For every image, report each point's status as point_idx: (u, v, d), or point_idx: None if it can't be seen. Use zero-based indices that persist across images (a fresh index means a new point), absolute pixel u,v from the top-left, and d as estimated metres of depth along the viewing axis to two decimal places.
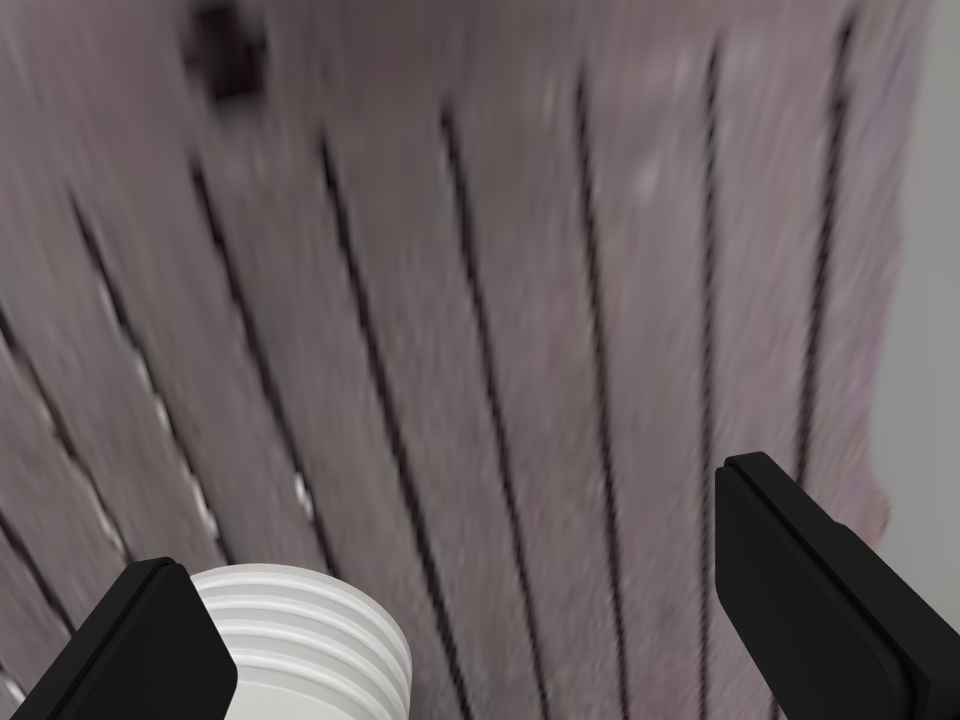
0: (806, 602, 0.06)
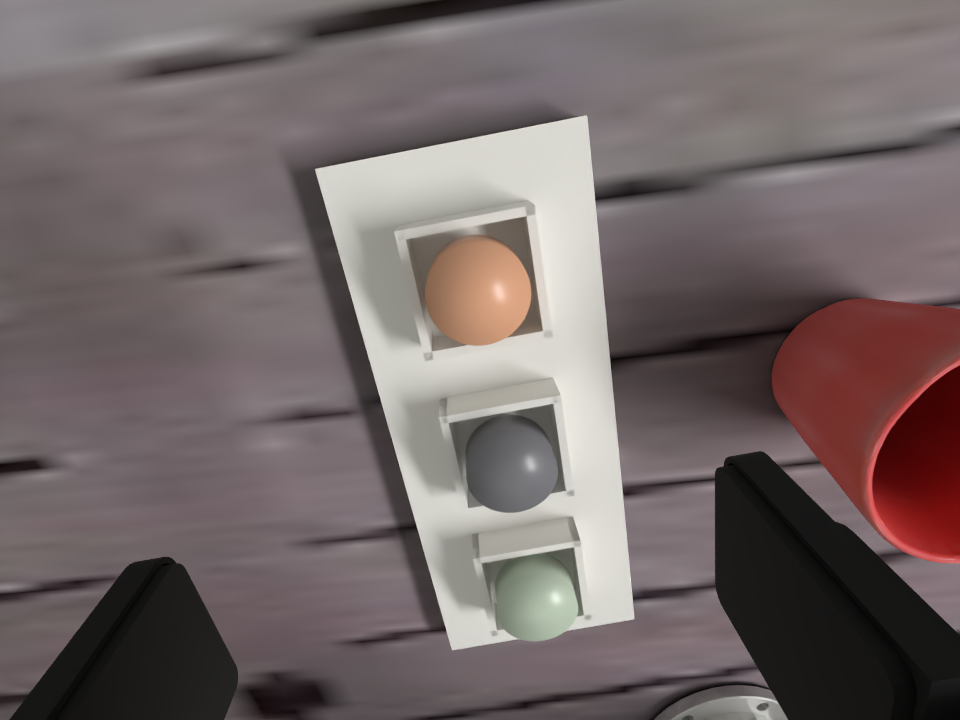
0: (806, 602, 0.06)
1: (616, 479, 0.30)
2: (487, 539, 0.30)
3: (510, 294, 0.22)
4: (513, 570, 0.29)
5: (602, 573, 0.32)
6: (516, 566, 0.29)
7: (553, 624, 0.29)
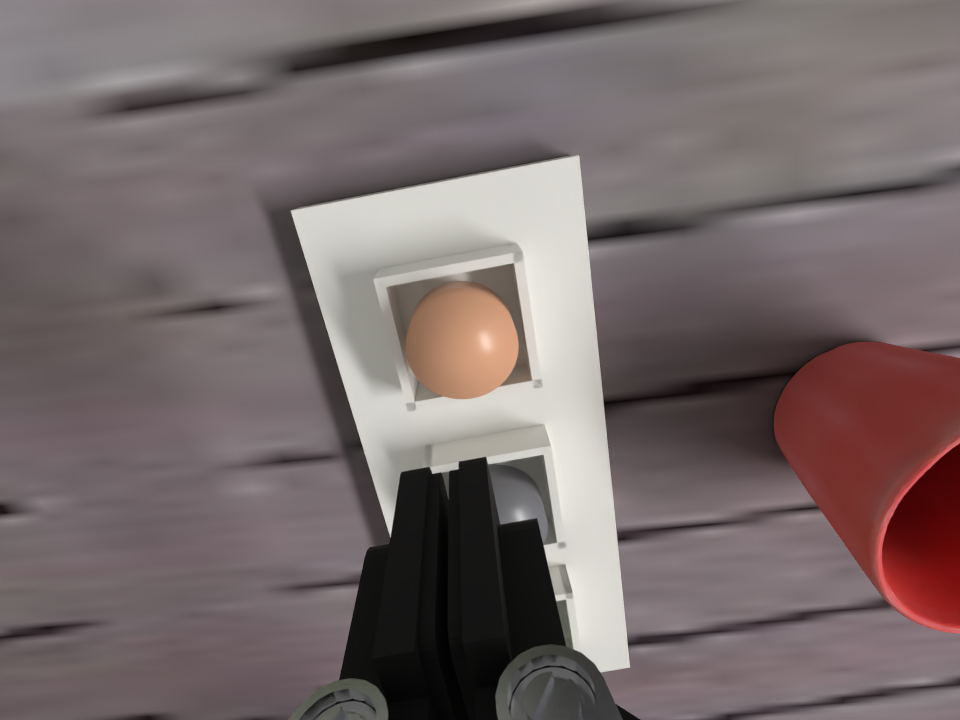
0: None
1: (610, 527, 0.28)
2: None
3: (496, 347, 0.20)
4: None
5: (596, 621, 0.31)
6: None
7: None
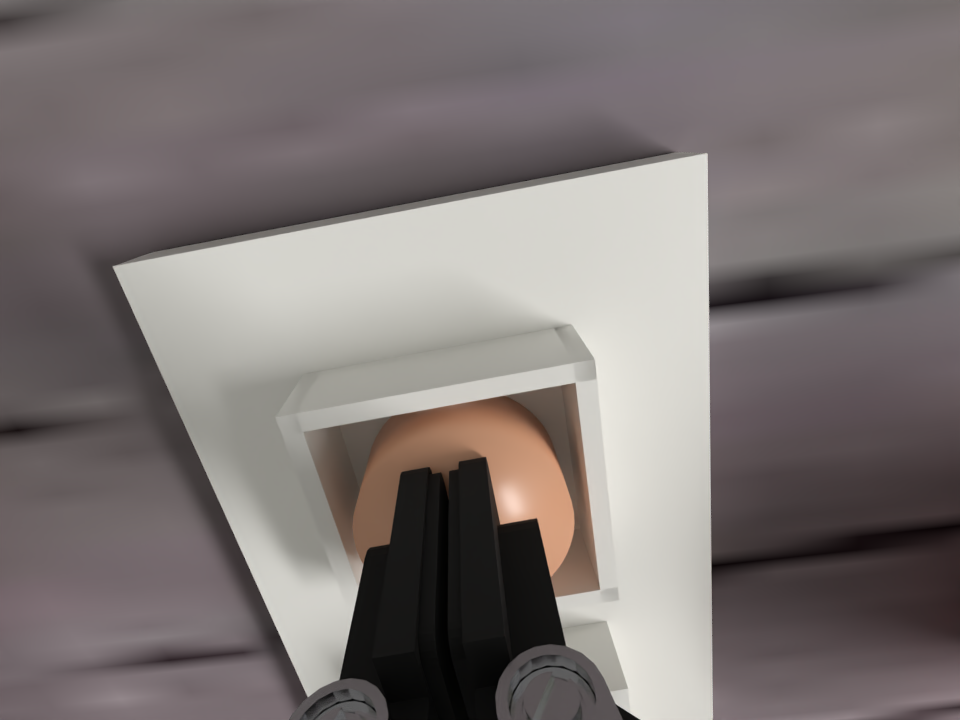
0: None
1: None
2: None
3: None
4: None
5: None
6: None
7: None
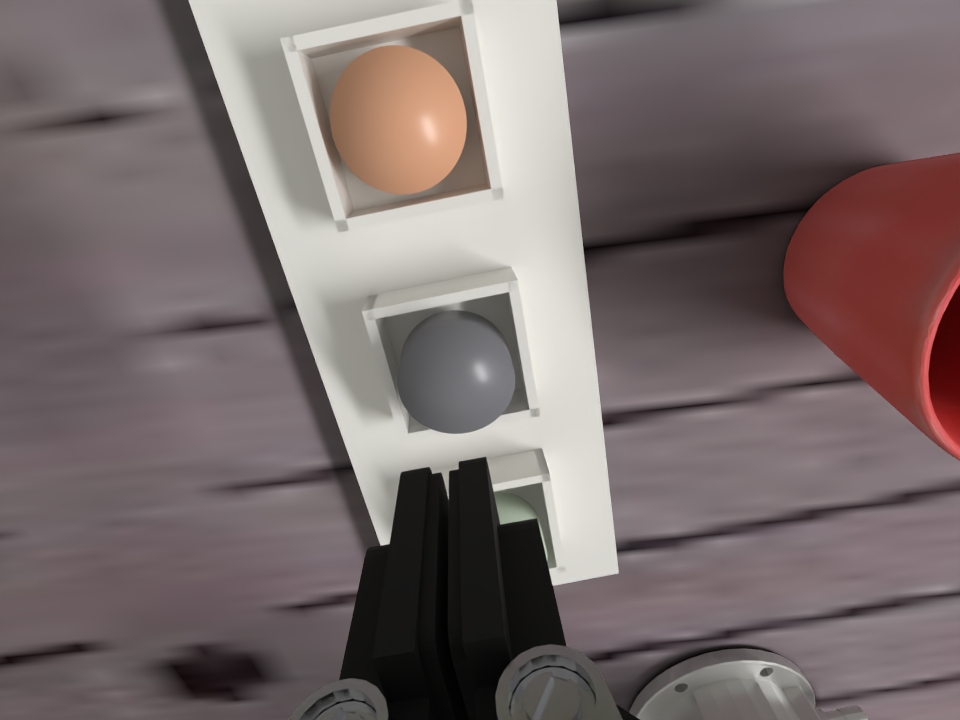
0: None
1: (593, 400, 0.24)
2: None
3: (440, 122, 0.17)
4: None
5: (579, 518, 0.27)
6: None
7: None
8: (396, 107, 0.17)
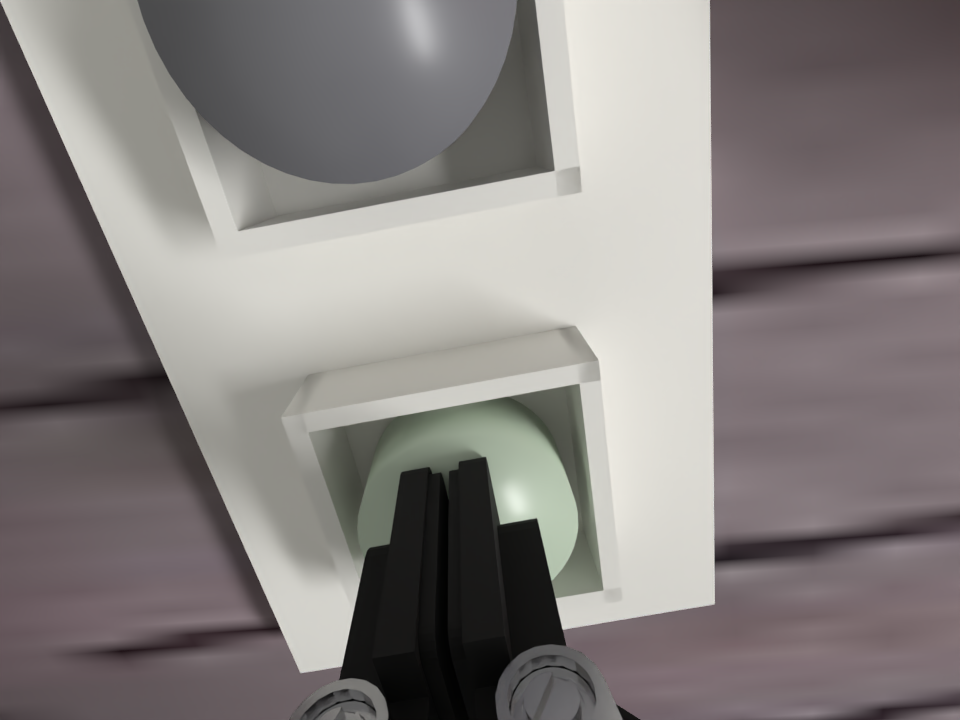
0: None
1: (698, 207, 0.11)
2: (342, 379, 0.11)
3: None
4: (406, 424, 0.11)
5: (646, 490, 0.13)
6: (415, 414, 0.11)
7: None
8: None
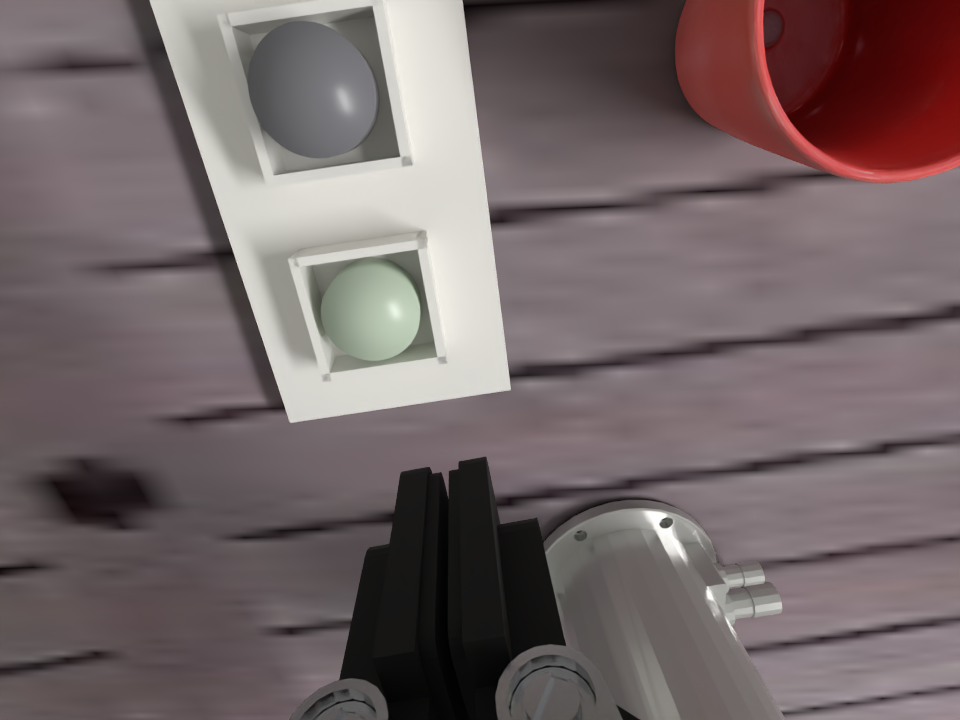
0: None
1: (478, 176, 0.24)
2: (315, 249, 0.24)
3: None
4: (344, 269, 0.24)
5: (468, 320, 0.26)
6: (348, 266, 0.24)
7: (391, 336, 0.24)
8: None
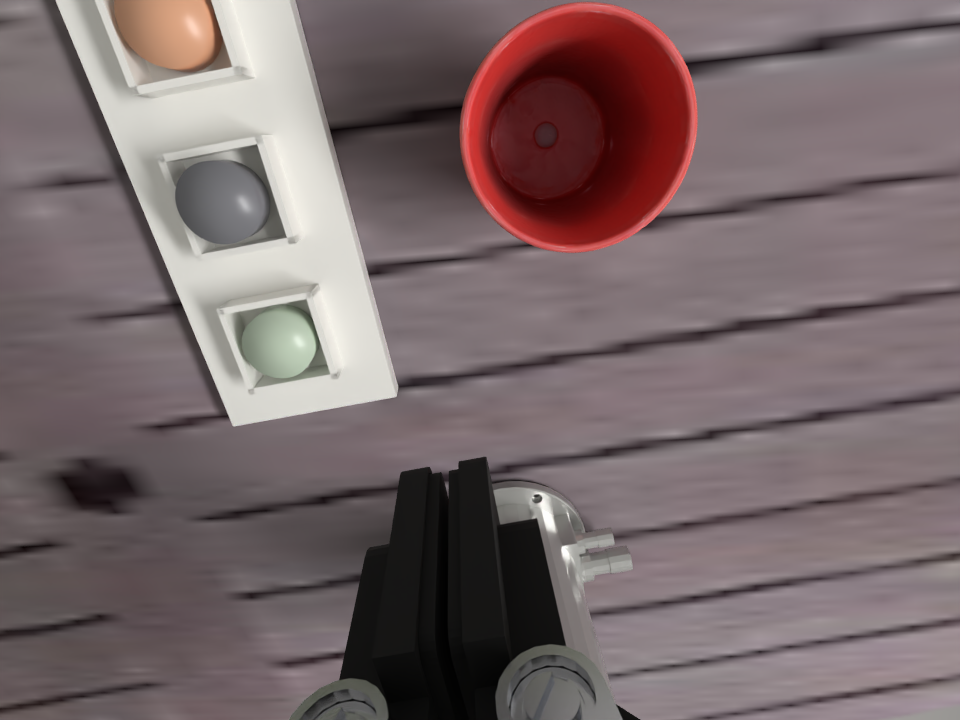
0: None
1: (350, 244, 0.33)
2: (238, 300, 0.34)
3: (187, 17, 0.26)
4: (259, 314, 0.34)
5: (357, 346, 0.36)
6: (262, 311, 0.34)
7: (293, 360, 0.34)
8: (157, 6, 0.26)
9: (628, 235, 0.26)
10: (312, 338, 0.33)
